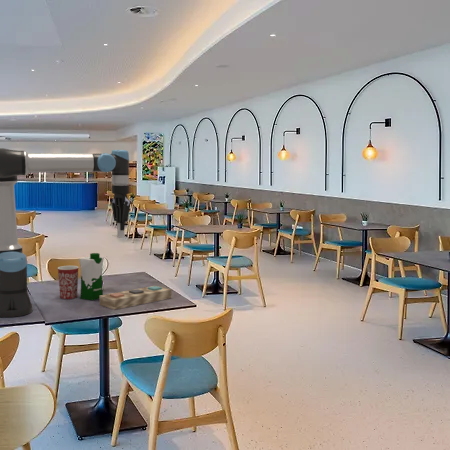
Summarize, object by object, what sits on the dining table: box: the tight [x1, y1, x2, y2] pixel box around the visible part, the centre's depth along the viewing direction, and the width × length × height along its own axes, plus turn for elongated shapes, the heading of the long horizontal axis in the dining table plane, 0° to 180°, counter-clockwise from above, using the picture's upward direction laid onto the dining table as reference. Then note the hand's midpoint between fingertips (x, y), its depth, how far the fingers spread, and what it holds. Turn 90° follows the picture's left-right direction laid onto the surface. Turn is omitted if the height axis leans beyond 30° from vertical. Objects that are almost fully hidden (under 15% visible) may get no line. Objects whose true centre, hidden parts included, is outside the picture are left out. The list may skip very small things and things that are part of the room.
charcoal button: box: [129, 288, 144, 294], centre depth 240 cm, size 4×4×3 cm
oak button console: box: [99, 285, 172, 311], centre depth 240 cm, size 30×11×4 cm, turn 135°
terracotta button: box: [109, 292, 124, 298], centre depth 233 cm, size 4×4×3 cm
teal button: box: [147, 285, 163, 291], centre depth 247 cm, size 4×4×3 cm
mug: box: [56, 265, 80, 300], centre depth 247 cm, size 13×9×14 cm
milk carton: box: [78, 252, 105, 301], centre depth 244 cm, size 9×9×20 cm
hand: (120, 237), depth 249 cm, fingers closed
